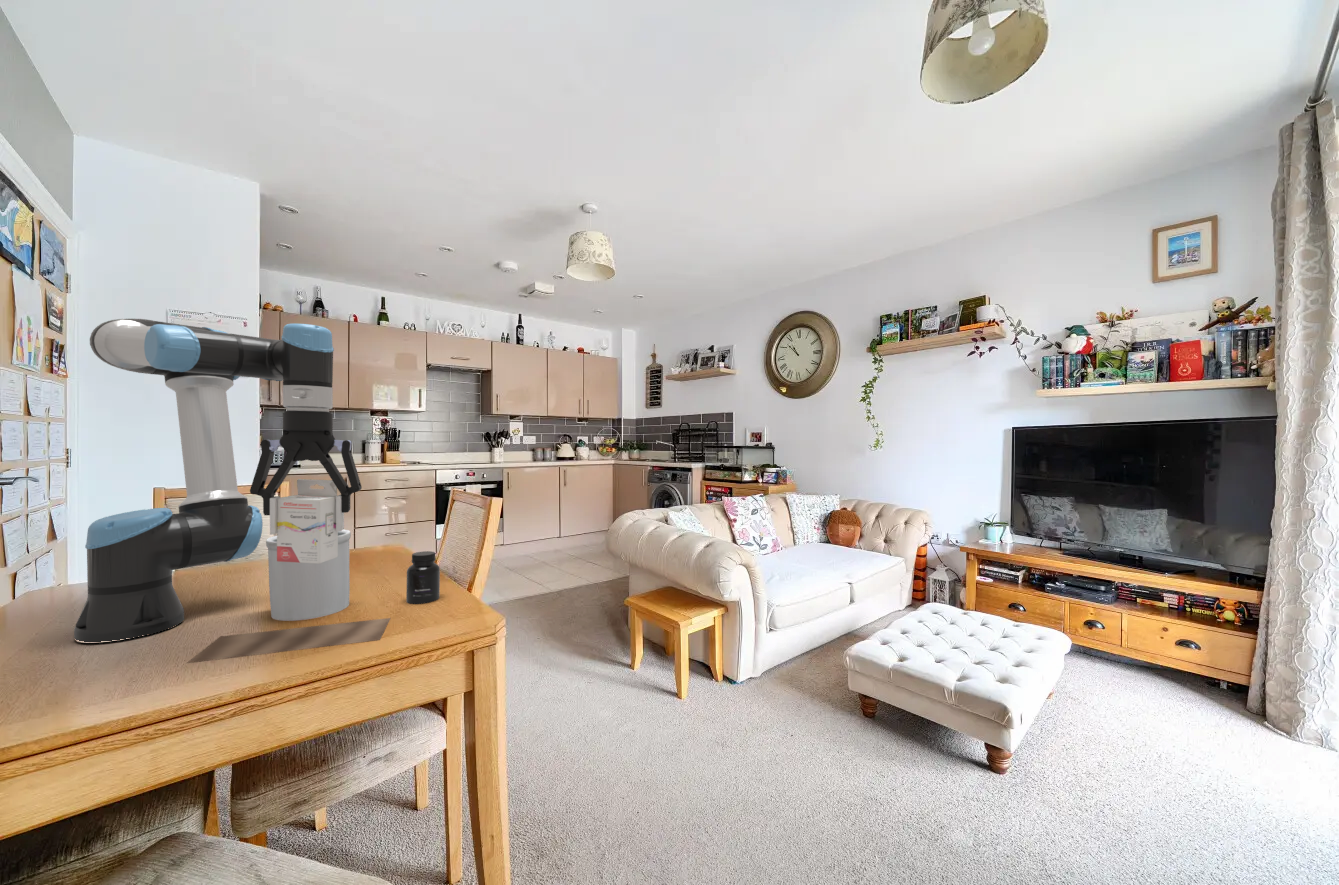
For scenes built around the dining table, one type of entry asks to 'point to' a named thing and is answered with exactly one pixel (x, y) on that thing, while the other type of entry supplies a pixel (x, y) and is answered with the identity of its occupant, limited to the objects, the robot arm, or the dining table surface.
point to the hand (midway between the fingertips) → (308, 531)
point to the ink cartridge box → (308, 523)
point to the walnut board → (292, 639)
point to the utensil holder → (309, 584)
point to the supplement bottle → (423, 579)
